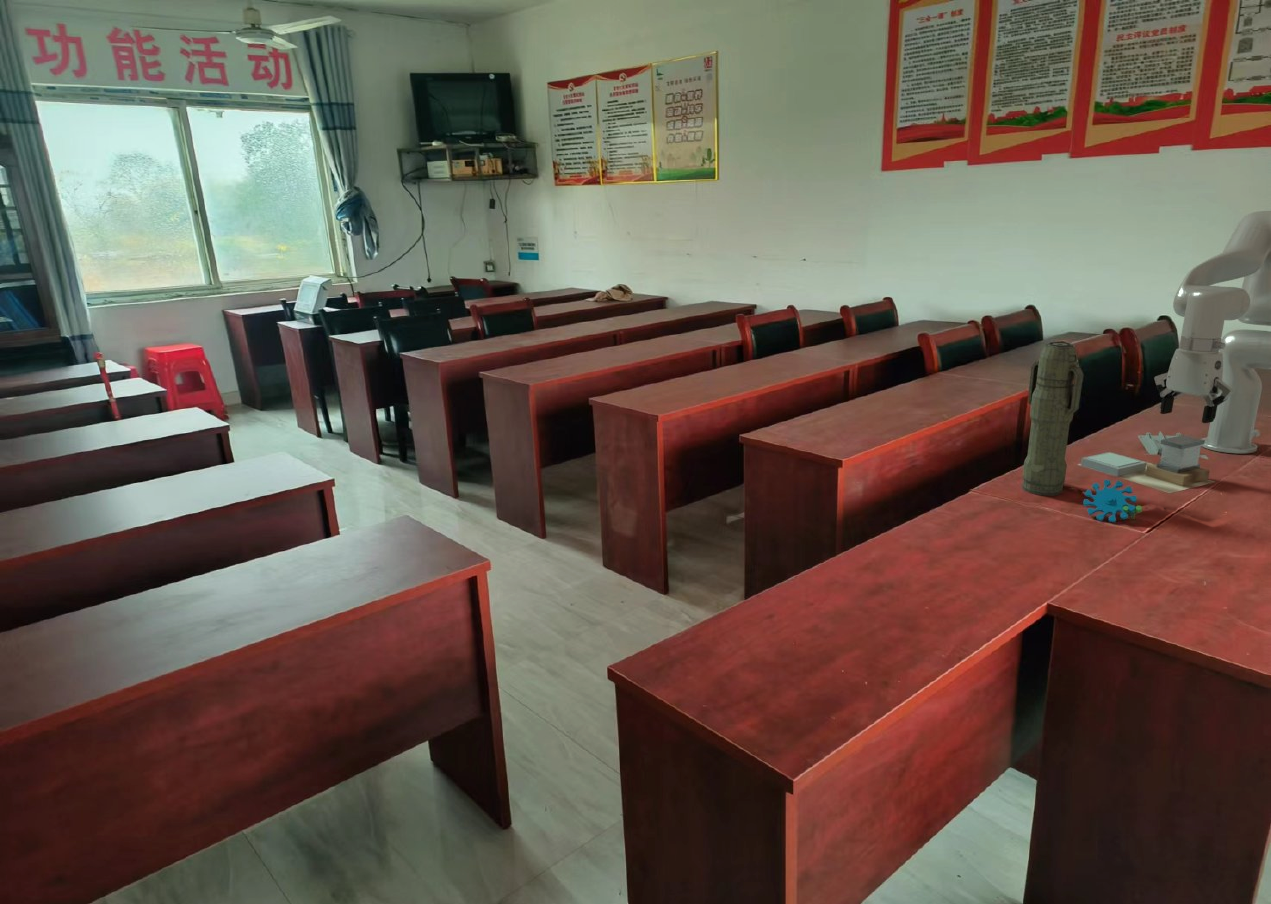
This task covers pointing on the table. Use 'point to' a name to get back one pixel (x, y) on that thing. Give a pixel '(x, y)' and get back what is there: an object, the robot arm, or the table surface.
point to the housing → (1180, 454)
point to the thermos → (1051, 417)
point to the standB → (1113, 464)
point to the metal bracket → (1157, 443)
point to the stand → (1178, 475)
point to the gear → (1111, 501)
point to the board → (1157, 481)
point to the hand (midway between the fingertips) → (1186, 417)
